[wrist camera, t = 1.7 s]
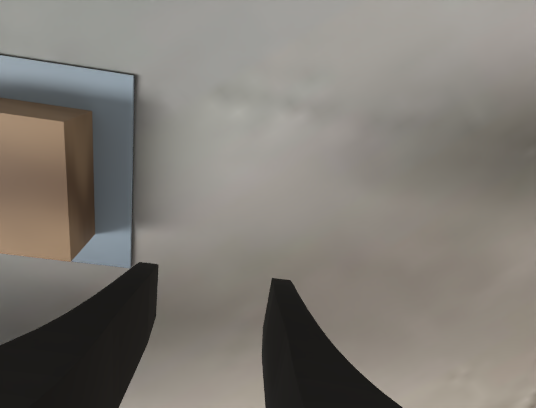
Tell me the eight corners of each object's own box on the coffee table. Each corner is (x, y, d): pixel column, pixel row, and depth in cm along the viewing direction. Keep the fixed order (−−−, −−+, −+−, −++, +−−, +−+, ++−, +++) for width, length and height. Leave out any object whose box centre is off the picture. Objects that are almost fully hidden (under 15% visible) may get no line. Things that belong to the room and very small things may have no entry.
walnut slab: (95, 234, 22) (70, 261, 19) (-33, 218, 21) (-77, 244, 19) (92, 110, 19) (63, 122, 16) (-54, 89, 19) (-109, 97, 16)
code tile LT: (131, 266, 23) (130, 268, 23) (-62, 243, 22) (-65, 245, 22) (134, 75, 19) (133, 75, 19) (-103, 39, 18) (-106, 38, 18)
